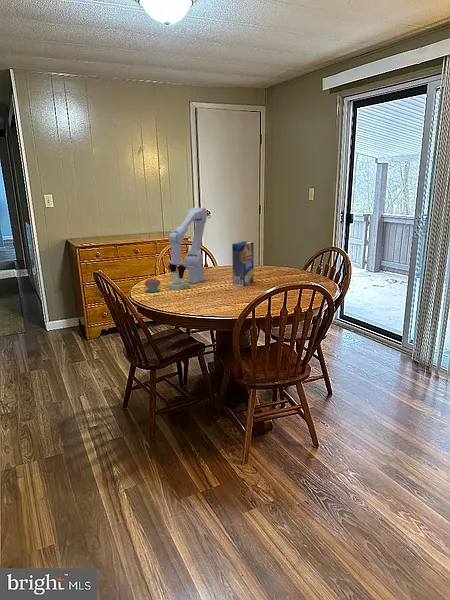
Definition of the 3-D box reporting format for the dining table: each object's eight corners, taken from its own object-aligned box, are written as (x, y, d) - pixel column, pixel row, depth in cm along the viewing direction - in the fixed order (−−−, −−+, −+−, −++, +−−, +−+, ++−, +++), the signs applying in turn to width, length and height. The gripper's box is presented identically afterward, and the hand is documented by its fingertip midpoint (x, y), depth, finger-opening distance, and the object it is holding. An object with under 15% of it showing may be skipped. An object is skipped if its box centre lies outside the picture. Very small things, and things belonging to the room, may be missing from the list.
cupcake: (145, 293, 222) (144, 272, 219) (144, 289, 230) (142, 269, 227) (161, 292, 224) (160, 271, 221) (159, 288, 232) (158, 268, 229)
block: (177, 279, 236) (177, 270, 235) (183, 280, 233) (183, 271, 232) (171, 281, 233) (171, 272, 231) (177, 282, 230) (177, 273, 228)
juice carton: (244, 286, 233) (243, 244, 226) (232, 285, 237) (232, 244, 230) (253, 282, 243) (253, 241, 236) (242, 280, 246) (242, 241, 240)
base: (178, 284, 240) (178, 281, 240) (189, 286, 235) (189, 283, 234) (167, 287, 234) (166, 284, 233) (178, 290, 228) (178, 286, 228)
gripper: (162, 253, 230) (163, 277, 234) (180, 256, 221) (181, 280, 225) (171, 252, 235) (172, 275, 239) (189, 254, 227) (190, 278, 231)
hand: (177, 277), depth 233 cm, fingers closed on block, 5 cm apart
